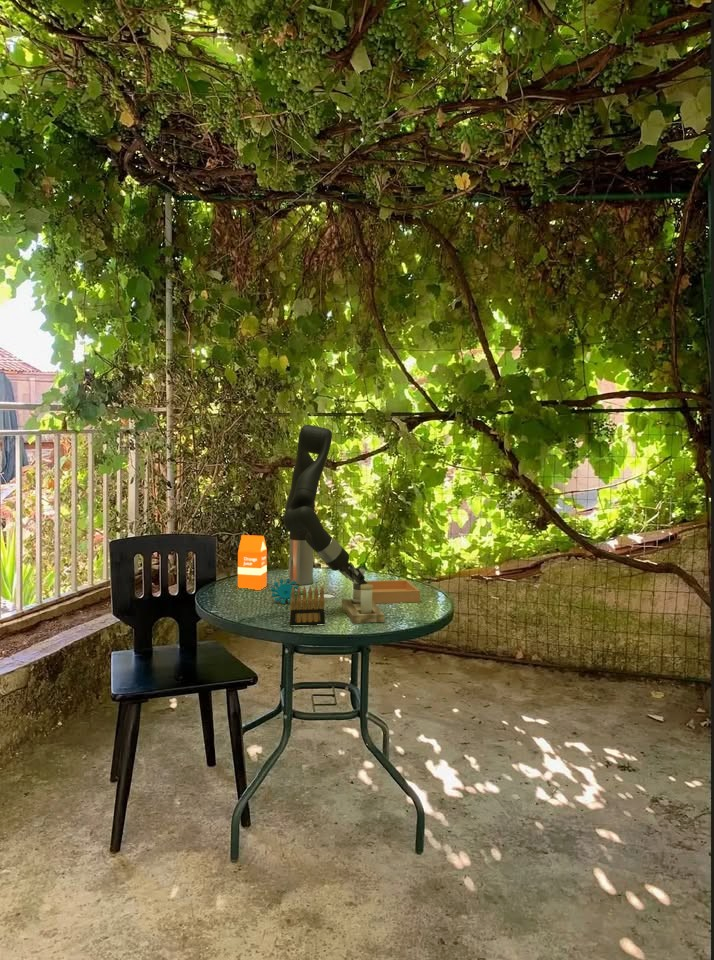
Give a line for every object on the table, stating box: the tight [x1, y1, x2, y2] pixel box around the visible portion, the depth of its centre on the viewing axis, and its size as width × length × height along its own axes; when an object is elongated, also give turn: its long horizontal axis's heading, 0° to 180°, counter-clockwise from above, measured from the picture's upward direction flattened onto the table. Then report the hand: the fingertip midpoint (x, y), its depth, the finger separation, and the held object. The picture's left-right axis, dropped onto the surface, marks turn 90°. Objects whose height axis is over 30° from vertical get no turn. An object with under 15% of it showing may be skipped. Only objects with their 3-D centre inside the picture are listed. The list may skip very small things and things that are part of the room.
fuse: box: [360, 584, 373, 614], centre depth 221 cm, size 4×4×11 cm
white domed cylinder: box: [352, 567, 366, 603], centre depth 233 cm, size 4×4×11 cm
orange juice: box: [237, 534, 268, 590], centre depth 261 cm, size 8×9×20 cm
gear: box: [270, 577, 303, 605], centre depth 243 cm, size 11×6×10 cm
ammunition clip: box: [289, 585, 326, 626], centre depth 213 cm, size 11×2×12 cm, turn 100°
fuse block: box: [341, 598, 385, 624], centre depth 227 cm, size 10×21×2 cm, turn 10°
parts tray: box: [365, 579, 421, 605], centre depth 252 cm, size 18×18×4 cm
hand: (363, 586), depth 234 cm, fingers closed on white domed cylinder, 3 cm apart
